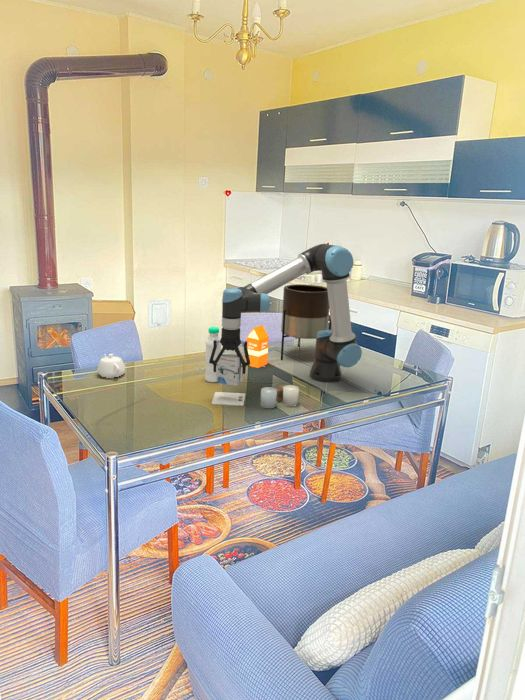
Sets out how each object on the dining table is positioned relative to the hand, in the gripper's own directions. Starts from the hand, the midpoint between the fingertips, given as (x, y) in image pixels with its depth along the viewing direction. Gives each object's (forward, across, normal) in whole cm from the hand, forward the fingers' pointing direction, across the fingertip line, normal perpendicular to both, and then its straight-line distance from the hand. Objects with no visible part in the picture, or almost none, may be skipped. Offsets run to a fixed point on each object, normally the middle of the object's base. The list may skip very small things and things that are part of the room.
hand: (229, 380), depth 212 cm
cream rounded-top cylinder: (+9, -26, +1) cm, 27 cm away
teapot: (+9, +56, -23) cm, 61 cm away
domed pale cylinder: (+9, -17, +4) cm, 19 cm away
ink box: (+1, 0, 0) cm, 1 cm away
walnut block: (+9, -22, -4) cm, 23 cm away
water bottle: (+9, +9, -23) cm, 26 cm away
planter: (+8, -34, -69) cm, 77 cm away
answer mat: (+9, 0, 0) cm, 9 cm away
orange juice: (+9, -10, -50) cm, 51 cm away
